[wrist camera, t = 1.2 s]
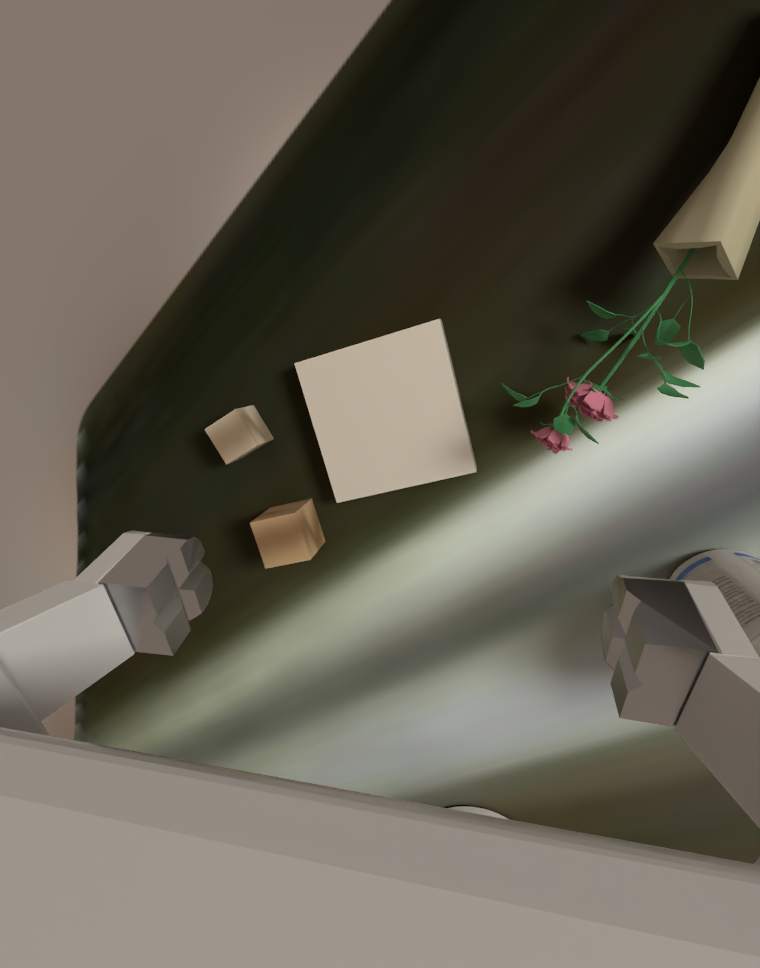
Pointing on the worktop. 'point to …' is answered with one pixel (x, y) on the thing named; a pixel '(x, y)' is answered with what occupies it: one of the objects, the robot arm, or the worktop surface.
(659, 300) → the flower vase
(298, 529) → the oak block
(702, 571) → the supplement tub
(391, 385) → the plate
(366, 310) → the worktop surface
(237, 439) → the maple block
